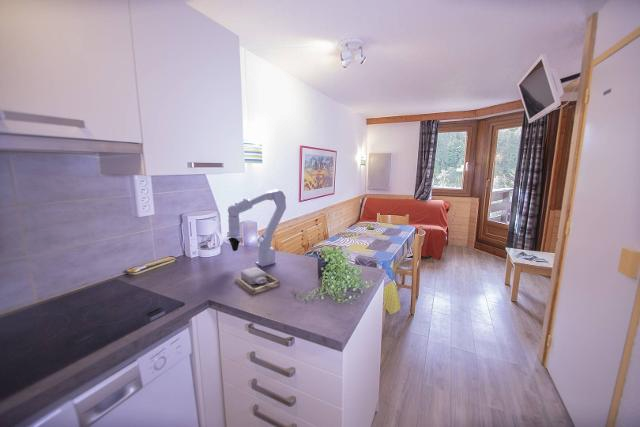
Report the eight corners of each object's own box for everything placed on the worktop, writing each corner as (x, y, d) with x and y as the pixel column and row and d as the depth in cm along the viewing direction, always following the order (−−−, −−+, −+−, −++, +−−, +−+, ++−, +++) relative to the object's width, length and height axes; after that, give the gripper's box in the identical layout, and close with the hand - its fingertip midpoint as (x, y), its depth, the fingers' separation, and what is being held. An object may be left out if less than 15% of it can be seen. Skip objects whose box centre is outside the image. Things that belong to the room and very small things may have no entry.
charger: (255, 290, 120) (241, 279, 131) (272, 284, 126) (257, 274, 137) (255, 280, 119) (240, 270, 130) (272, 275, 125) (257, 266, 136)
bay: (260, 273, 138) (260, 269, 138) (279, 285, 125) (279, 281, 125) (234, 280, 129) (234, 276, 128) (252, 294, 116) (252, 290, 115)
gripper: (221, 225, 145) (222, 248, 147) (232, 230, 134) (233, 255, 137) (233, 223, 150) (234, 246, 152) (245, 228, 139) (246, 252, 142)
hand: (235, 250), depth 145 cm, fingers closed
